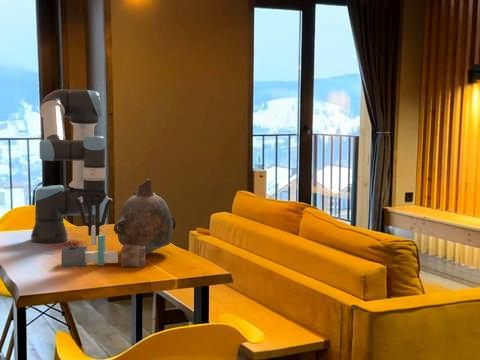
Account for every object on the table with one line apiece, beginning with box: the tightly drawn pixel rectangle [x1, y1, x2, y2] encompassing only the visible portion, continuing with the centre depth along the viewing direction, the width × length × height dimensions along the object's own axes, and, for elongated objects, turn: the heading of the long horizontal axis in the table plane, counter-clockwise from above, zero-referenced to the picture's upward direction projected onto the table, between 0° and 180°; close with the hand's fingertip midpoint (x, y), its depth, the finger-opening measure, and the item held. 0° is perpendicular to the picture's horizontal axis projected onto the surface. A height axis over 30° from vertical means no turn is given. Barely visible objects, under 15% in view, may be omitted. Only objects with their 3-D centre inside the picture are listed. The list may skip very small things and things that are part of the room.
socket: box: [121, 244, 146, 269], centre depth 231 cm, size 8×8×7 cm
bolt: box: [85, 233, 120, 266], centre depth 229 cm, size 16×5×10 cm, turn 96°
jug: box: [113, 178, 176, 255], centre depth 249 cm, size 24×21×30 cm
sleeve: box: [60, 246, 88, 268], centre depth 229 cm, size 8×7×6 cm
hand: (93, 244), depth 229 cm, fingers closed
